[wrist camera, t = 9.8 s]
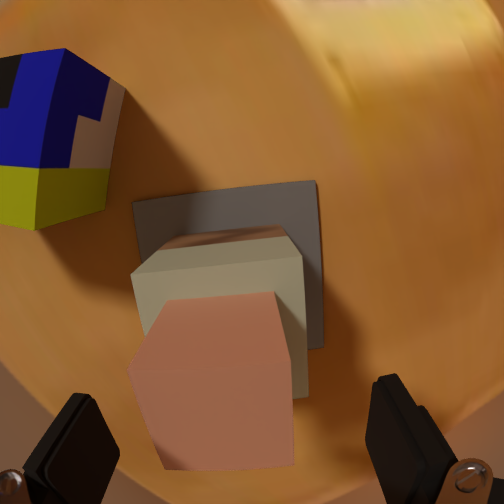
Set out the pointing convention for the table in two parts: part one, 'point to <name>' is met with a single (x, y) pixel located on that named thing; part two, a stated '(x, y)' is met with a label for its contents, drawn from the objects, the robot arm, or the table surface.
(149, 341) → the terracotta block
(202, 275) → the tower top
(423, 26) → the table surface
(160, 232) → the mat
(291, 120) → the table surface
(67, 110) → the puzzle toy
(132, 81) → the table surface
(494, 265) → the table surface
